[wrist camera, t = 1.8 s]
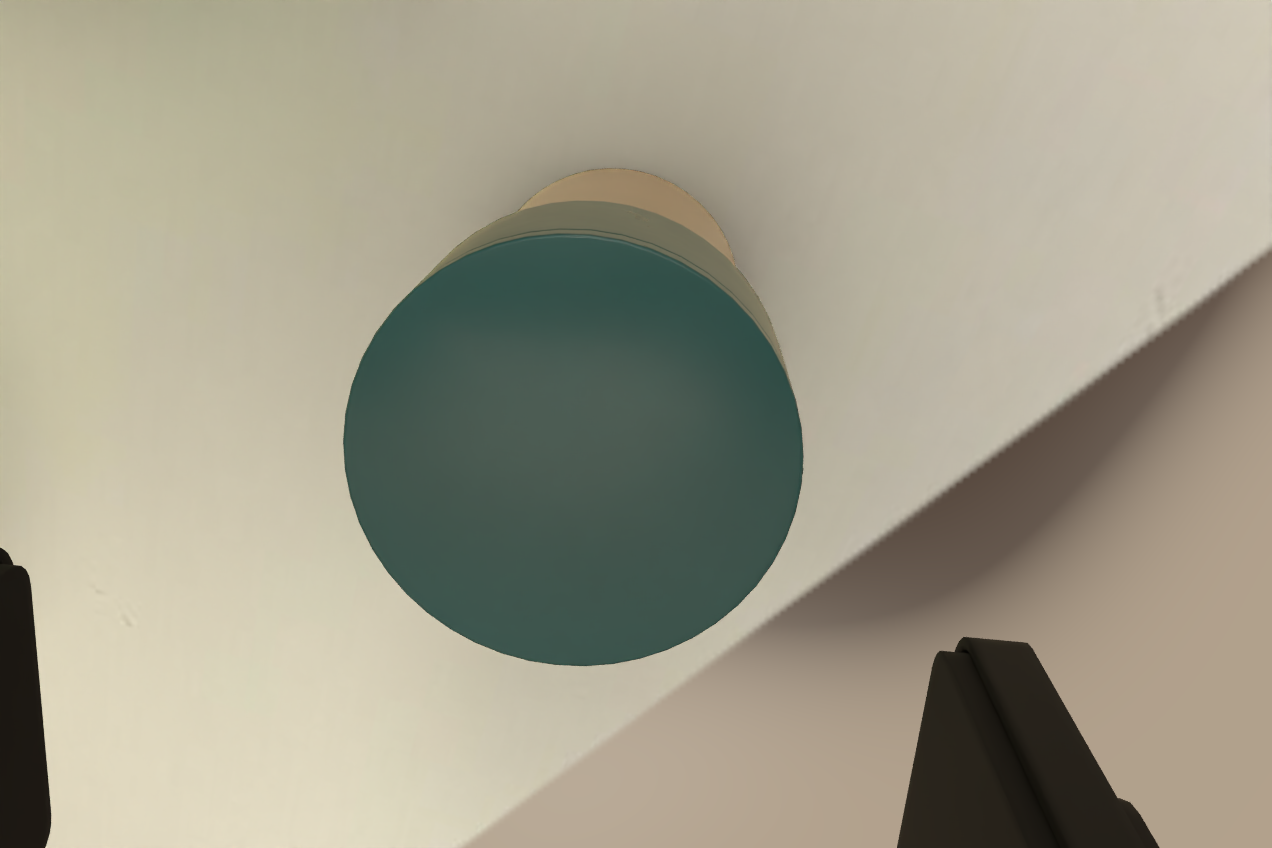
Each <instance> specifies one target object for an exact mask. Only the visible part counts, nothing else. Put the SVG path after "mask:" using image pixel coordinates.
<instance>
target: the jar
mask: <svg viewBox="0 0 1272 848" xmlns="http://www.w3.org/2000/svg"><path fill="white" fill-rule="evenodd" d="M576 200H580V201H606V202H612V203H618V204H624V205H630V206H634V207H637V208H640V209H644V210H647V211H650V212H654V213H657V214H659V215H661V216H664V217H666V218H668V219H670V220H672V221H675V222H677V223H679V224H681V225H683V226H685V227H686V228H688V229H689V230H691V231H693V232H694V233H696V234H697V235H699V236H701V237H702V238H704V239H705V240H706V241H708V242H709V243H710V244H711V245H713V246H714V247H715V248H716V249H717V250H719V251H720V252H721V253H722V254H723V255H725V256H726V257H727V258H728V260H729V261H730V262H731V263H732V264H733V265H734V266H735V267H736V265H735V261H734V257H733V255H732V252H731V249H730V246H729V244H728V242H727V240H726V238H725V236H724V234H723V232H722V230H721V229H720V227H719V226H718V224H717V223H716V221H715V220H714V219H713V217H712V216H711V215H710V214H709V212H708V211H707V210H706V209H705V208H704V207H703V206H702V205H701V204H700V203H699V202H698V201H697V200H696V199H694V198H693V197H692V196H691V195H689V194H688V193H687V192H685V191H684V190H682V189H681V188H679V187H677V186H676V185H674V184H673V183H671V182H668V181H666V180H664V179H662V178H660V177H657V176H654V175H651V174H648V173H644V172H641V171H635V170H629V169H616V168H605V169H595V170H588V171H584V172H580V173H576V174H573V175H570V176H568V177H565V178H562V179H560V180H558V181H556V182H554V183H552V184H550V185H549V186H547V187H545V188H543V189H542V190H541V191H539V192H538V193H537V194H535V195H534V196H533V197H531V198H530V199H529V200H528V201H527V202H526V203H525V204H524V205H523V206H522V207H521V208H520V209H519V210H518V211H521V210H524V209H528V208H532V207H536V206H540V205H544V204H548V203H556V202H566V201H576ZM518 211H517V212H518Z"/></svg>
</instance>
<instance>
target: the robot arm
mask: <svg viewBox="0 0 1272 848" xmlns="http://www.w3.org/2000/svg"><path fill="white" fill-rule="evenodd" d="M50 827H51V807H50V796H49V784H48V773H47V762H46V750H45V739H44V728H43V716H42V705H41V694H40V683H39V671H38V660H37V649H36V637H35V626H34V615H33V603H32V592H31V583H30V578H29V575H28V573H27V571H26V569H24V568H23V567H22V566H16V565H13V562H12V560H11V558H10V556H9V554H8V553H7V552H6V551H5V550H3V549H2V548H0V848H45V847H46V844H47V841H48V837H49V834H50ZM897 848H1159V846H1158V844H1157V843H1156V841H1155V839H1154V838H1153V836H1152V834H1151V833H1150V831H1149V829H1148V828H1147V826H1146V824H1145V822H1144V821H1143V819H1142V817H1141V815H1140V814H1139V813H1138V811H1137V810H1136V809H1135V808H1134V807H1133V805H1132V804H1131V803H1130V802H1128V801H1125V800H1123V799H1120V798H1117V796H1116V795H1115V793H1114V791H1113V789H1112V788H1111V786H1110V784H1109V783H1108V781H1107V779H1106V777H1105V775H1104V774H1103V772H1102V770H1101V768H1100V767H1099V765H1098V764H1097V761H1096V760H1095V758H1094V756H1093V755H1092V753H1091V751H1090V749H1089V747H1088V745H1087V744H1086V742H1085V740H1084V738H1083V737H1082V735H1081V733H1080V732H1079V730H1078V728H1077V726H1076V724H1075V723H1074V721H1073V719H1072V717H1071V716H1070V714H1069V712H1068V710H1067V709H1066V707H1065V705H1064V703H1063V702H1062V700H1061V698H1060V696H1059V695H1058V693H1057V691H1056V689H1055V688H1054V686H1053V684H1052V682H1051V681H1050V679H1049V677H1048V675H1047V673H1046V672H1045V670H1044V668H1043V666H1042V665H1041V663H1040V661H1039V659H1038V658H1037V656H1036V654H1035V652H1034V651H1033V649H1032V648H1031V646H1030V645H1029V644H1028V643H1023V642H1012V641H1001V640H990V639H980V638H969V637H963V638H962V639H961V640H960V641H959V643H958V645H957V647H956V650H955V652H947V651H939V652H938V653H937V655H936V657H935V659H934V663H933V667H932V671H931V676H930V681H929V686H928V691H927V697H926V702H925V707H924V712H923V717H922V722H921V727H920V732H919V737H918V743H917V748H916V753H915V758H914V763H913V769H912V774H911V778H910V784H909V789H908V794H907V799H906V804H905V809H904V815H903V820H902V825H901V830H900V835H899V840H898V845H897Z"/></svg>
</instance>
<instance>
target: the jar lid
mask: <svg viewBox="0 0 1272 848" xmlns="http://www.w3.org/2000/svg"><path fill="white" fill-rule="evenodd" d="M343 445H344V462H345V472H346V477H347V482H348V487H349V492H350V497H351V500H352V503H353V506H354V508H355V511H356V514H357V517H358V520H359V523H360V525H361V527H362V529H363V531H364V533H365V535H366V537H367V539H368V541H369V543H370V545H371V547H372V549H373V551H374V552H375V554H376V555H377V557H378V558H379V560H380V561H381V563H382V564H383V566H384V567H385V569H386V570H387V572H388V573H389V574H390V575H391V576H392V578H393V579H394V580H395V581H396V582H397V583H398V585H399V586H400V587H401V588H402V589H403V590H404V592H405V593H406V594H407V595H408V596H409V597H411V598H412V599H413V600H414V601H415V602H416V603H417V604H418V605H419V606H420V607H422V608H423V609H424V610H425V611H426V612H427V613H429V614H430V615H431V616H433V617H434V618H436V619H437V620H438V621H440V622H441V623H443V624H444V625H445V626H447V627H448V628H450V629H451V630H453V631H455V632H457V633H459V634H460V635H462V636H464V637H466V638H468V639H470V640H471V641H473V642H475V643H478V644H480V645H483V646H485V647H487V648H490V649H492V650H495V651H497V652H500V653H503V654H506V655H510V656H514V657H517V658H521V659H525V660H528V661H534V662H541V663H547V664H554V665H571V666H592V665H605V664H615V663H620V662H625V661H630V660H635V659H640V658H643V657H646V656H650V655H653V654H656V653H659V652H662V651H665V650H668V649H670V648H672V647H674V646H676V645H679V644H681V643H683V642H685V641H687V640H689V639H691V638H693V637H695V636H696V635H698V634H700V633H701V632H703V631H704V630H706V629H708V628H709V627H711V626H712V625H714V624H716V623H717V622H718V621H719V620H721V619H722V618H723V617H724V616H725V615H727V614H728V613H729V612H730V611H732V610H733V609H734V608H735V607H737V606H738V605H739V604H740V603H741V602H742V600H743V599H744V598H745V597H746V596H747V595H748V594H749V593H750V592H751V591H752V590H753V589H754V588H755V587H756V586H757V584H758V583H759V582H760V580H761V579H762V577H763V576H764V575H765V573H766V572H767V570H768V569H769V568H770V566H771V565H772V563H773V562H774V560H775V558H776V556H777V554H778V552H779V551H780V549H781V547H782V545H783V543H784V541H785V539H786V537H787V534H788V531H789V529H790V526H791V523H792V521H793V518H794V515H795V512H796V508H797V503H798V499H799V494H800V489H801V484H802V474H803V457H804V456H803V441H802V427H801V423H800V418H799V413H798V408H797V404H796V399H795V396H794V393H793V389H792V386H791V383H790V379H789V376H788V373H787V369H786V366H785V363H784V359H783V356H782V353H781V349H780V346H779V343H778V340H777V337H776V335H775V332H774V329H773V326H772V323H771V321H770V318H769V316H768V314H767V313H766V311H765V309H764V307H763V305H762V303H761V301H760V299H759V297H758V296H757V294H756V293H755V291H754V290H753V289H752V287H751V286H750V284H749V283H748V281H747V280H746V279H745V277H744V276H743V275H742V273H741V272H740V271H739V270H738V269H737V268H736V267H735V266H734V265H733V264H732V263H731V262H730V261H729V260H728V258H727V257H726V256H725V255H723V254H722V253H721V252H720V251H719V250H717V249H716V248H715V247H714V246H713V245H711V244H710V243H709V242H708V241H706V240H705V239H704V238H702V237H701V236H699V235H697V234H696V233H694V232H693V231H691V230H689V229H688V228H686V227H685V226H683V225H681V224H679V223H677V222H675V221H672V220H670V219H668V218H666V217H664V216H661V215H659V214H657V213H654V212H650V211H647V210H644V209H640V208H637V207H634V206H630V205H624V204H618V203H612V202H606V201H580V200H576V201H566V202H556V203H548V204H544V205H540V206H536V207H532V208H528V209H524V210H521V211H518V212H516V213H513V214H511V215H508V216H506V217H503V218H501V219H498V220H496V221H495V222H493V223H491V224H489V225H487V226H486V227H484V228H482V229H480V230H478V231H477V232H475V233H474V234H472V235H471V236H470V237H468V238H467V239H466V240H464V241H463V242H462V243H460V244H459V245H458V246H457V247H455V248H454V249H453V250H452V251H451V252H450V253H449V254H448V255H447V256H446V257H445V258H444V259H443V260H442V261H441V262H440V263H439V264H438V265H437V266H436V267H435V268H434V269H433V270H432V271H431V272H430V273H429V274H428V275H427V276H426V277H425V278H424V279H423V280H422V281H421V282H420V283H419V284H418V285H417V286H416V287H415V288H414V289H413V290H412V291H411V292H410V293H409V294H408V295H407V296H406V297H405V298H404V299H403V300H402V301H401V302H400V303H399V304H398V305H397V306H396V307H395V308H394V309H393V311H392V312H391V313H390V315H389V316H388V317H387V319H386V320H385V321H384V323H383V324H382V325H381V326H380V328H379V329H378V330H377V332H376V333H375V335H374V337H373V339H372V341H371V342H370V344H369V346H368V348H367V350H366V351H365V353H364V355H363V357H362V359H361V362H360V364H359V367H358V370H357V372H356V375H355V377H354V380H353V383H352V386H351V390H350V395H349V399H348V404H347V408H346V413H345V425H344V438H343Z"/></svg>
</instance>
